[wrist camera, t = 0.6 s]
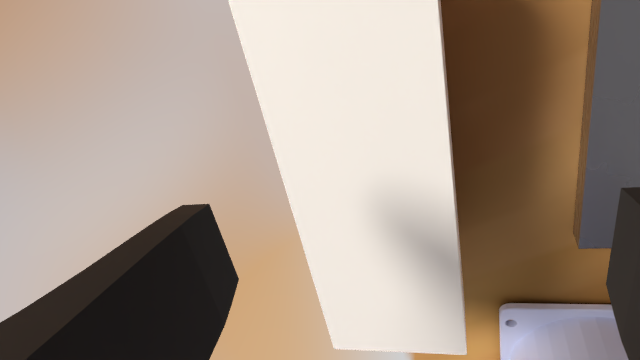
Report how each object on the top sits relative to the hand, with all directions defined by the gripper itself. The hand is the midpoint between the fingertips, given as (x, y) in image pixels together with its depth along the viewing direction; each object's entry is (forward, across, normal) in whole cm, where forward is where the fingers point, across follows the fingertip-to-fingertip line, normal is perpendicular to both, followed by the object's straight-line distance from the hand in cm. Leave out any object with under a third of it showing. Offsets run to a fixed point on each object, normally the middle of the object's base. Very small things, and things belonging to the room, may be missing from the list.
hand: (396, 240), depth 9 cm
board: (+7, +2, +2) cm, 8 cm away
